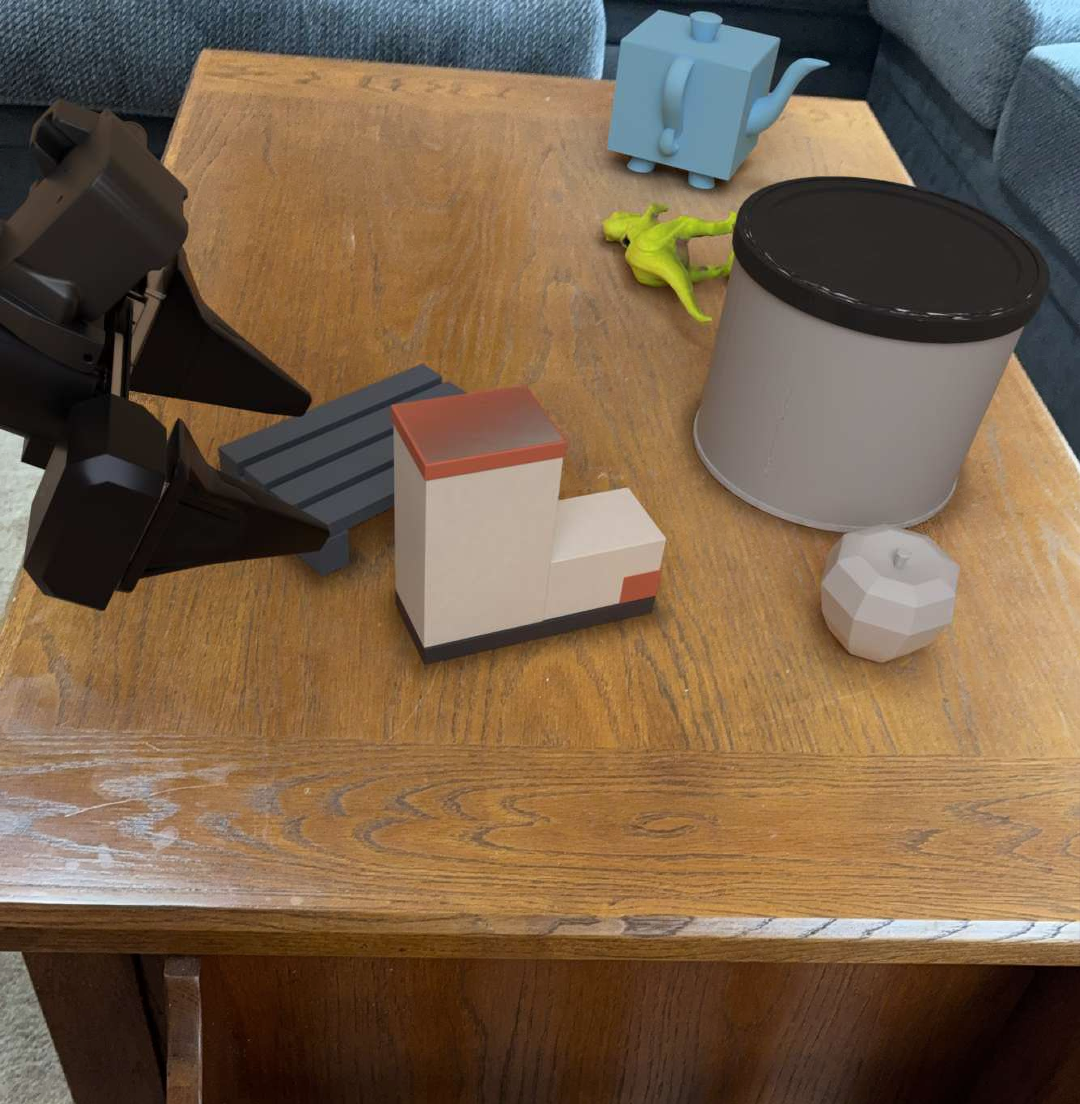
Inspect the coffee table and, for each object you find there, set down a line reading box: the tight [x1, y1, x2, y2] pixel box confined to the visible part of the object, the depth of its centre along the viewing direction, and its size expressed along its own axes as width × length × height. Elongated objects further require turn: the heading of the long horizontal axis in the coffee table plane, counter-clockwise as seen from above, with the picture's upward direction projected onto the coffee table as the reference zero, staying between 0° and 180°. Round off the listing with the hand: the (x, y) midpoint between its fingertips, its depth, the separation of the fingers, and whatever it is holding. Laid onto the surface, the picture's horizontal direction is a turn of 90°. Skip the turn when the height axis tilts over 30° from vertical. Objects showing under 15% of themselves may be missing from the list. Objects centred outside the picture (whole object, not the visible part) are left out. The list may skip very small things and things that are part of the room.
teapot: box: [606, 9, 831, 190], centre depth 104 cm, size 18×16×13 cm
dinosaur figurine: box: [601, 202, 738, 324], centre depth 91 cm, size 20×10×6 cm, turn 30°
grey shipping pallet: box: [217, 363, 469, 577], centre depth 69 cm, size 16×10×4 cm, turn 135°
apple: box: [820, 524, 961, 664], centre depth 62 cm, size 8×8×7 cm
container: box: [692, 175, 1051, 534], centre depth 72 cm, size 19×19×15 cm
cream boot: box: [391, 384, 667, 666], centre depth 59 cm, size 14×5×13 cm, turn 113°
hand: (316, 468), depth 46 cm, fingers open, 9 cm apart
